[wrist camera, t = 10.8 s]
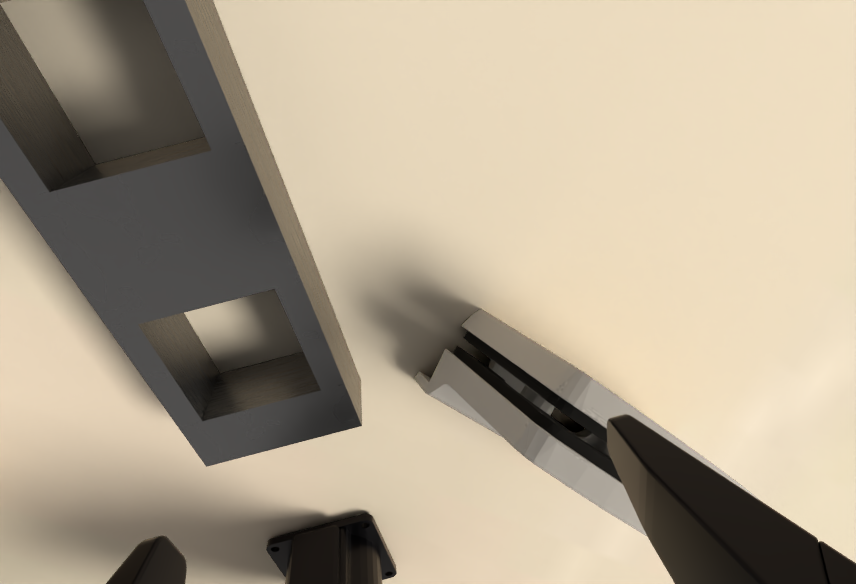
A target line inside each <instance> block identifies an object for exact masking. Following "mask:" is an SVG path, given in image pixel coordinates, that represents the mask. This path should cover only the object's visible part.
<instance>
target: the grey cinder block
mask: <svg viewBox="0 0 856 584" xmlns="http://www.w3.org/2000/svg"><path fill="white" fill-rule="evenodd" d="M5 1H9V0H0V3H1V2H5ZM143 1H144V3H145V6H146V8H147V10H148V12H149V14H150V17H151V19H152V21H153V23H154V25H155V28H156V30H157V32H158V34H159V36H160V39H161V41H162V43H163V45H164V47H165V49H166V52H167V54H168V56H169V58H170V60H171V63H172V65H173V67H174V69H175V71H176V74H177V76H178V78H179V80H180V82H181V85H182V87H183V89H184V91H185V93H186V96H187V98H188V100H189V102H190V104H191V106H192V109H193V111H194V113H195V115H196V117H197V120H198V122H199V124H200V126H201V128H202V131H203V133H204V135H205V137H202V138H198V139H194V140H191V141H187V142H183V143H179V144H175V145H171V146H167V147H163V148H159V149H155V150H152V151H148V152H144V153H140V154H136V155H132V156H128V157H124V158H120V159H117V160H113V161H109V162H105V163H101V164H97V165H95V163H94V161H93V160H92V158H91V156H90V155H89V153H88V151H87V150H86V148H85V146H84V145H83V143H82V141H81V140H80V138H79V136H78V135H77V133H76V131H75V129H74V128H73V126H72V124H71V123H70V121H69V119H68V118H67V116H66V114H65V113H64V111H63V109H62V108H61V106H60V104H59V103H58V101H57V99H56V98H55V96H54V94H53V92H52V91H51V89H50V87H49V86H48V84H47V82H46V81H45V79H44V77H43V76H42V74H41V72H40V71H39V69H38V67H37V66H36V64H35V62H34V61H33V59H32V57H31V55H30V54H29V52H28V50H27V49H26V47H25V45H24V44H23V42H22V40H21V39H20V37H19V35H18V34H17V32H16V30H15V29H14V27H13V25H12V24H11V22H10V20H9V18H8V17H7V15H6V13H5V12H4V10H3V8H2V7H1V5H0V178H1V179H2V180H3V182H4V183H5V185H6V186H7V187H8V189H9V190H10V192H11V193H12V194H13V196H14V197H15V199H16V200H17V201H18V203H19V204H20V206H21V207H22V208H23V210H24V211H25V213H26V214H27V216H28V217H29V218H30V220H31V221H32V223H33V224H34V225H35V227H36V228H37V230H38V231H39V232H40V234H41V235H42V237H43V238H44V239H45V241H46V242H47V244H48V245H49V246H50V248H51V249H52V251H53V252H54V253H55V255H56V256H57V258H58V259H59V260H60V262H61V263H62V265H63V266H64V267H65V269H66V270H67V272H68V273H69V274H70V276H71V277H72V279H73V280H74V281H75V283H76V284H77V286H78V287H79V288H80V290H81V291H82V293H83V294H84V295H85V297H86V298H87V300H88V301H89V303H90V304H91V305H92V307H93V308H94V310H95V311H96V312H97V314H98V315H99V317H100V318H101V319H102V321H103V322H104V324H105V325H106V326H107V328H108V329H109V331H110V332H111V333H112V335H113V336H114V338H115V339H116V340H117V342H118V343H119V345H120V346H121V347H122V349H123V350H124V352H125V353H126V354H127V356H128V357H129V359H130V360H131V361H132V363H133V364H134V366H135V367H136V368H137V370H138V371H139V373H140V374H141V375H142V377H143V378H144V380H145V381H146V382H147V384H148V385H149V387H150V388H151V390H152V391H153V392H154V394H155V395H156V397H157V398H158V399H159V401H160V402H161V404H162V405H163V406H164V408H165V409H166V411H167V412H168V413H169V415H170V416H171V418H172V419H173V420H174V422H175V423H176V425H177V426H178V427H179V429H180V430H181V432H182V433H183V434H184V436H185V437H186V439H187V440H188V441H189V443H190V444H191V446H192V447H193V448H194V450H195V451H196V453H197V454H198V455H199V457H200V458H201V460H202V461H203V462H204V464H205V465H206V467H207V466H210V465H214V464H218V463H222V462H226V461H229V460H233V459H237V458H241V457H245V456H249V455H252V454H256V453H260V452H264V451H268V450H271V449H275V448H279V447H283V446H287V445H290V444H294V443H298V442H302V441H306V440H310V439H313V438H317V437H321V436H325V435H329V434H332V433H336V432H340V431H344V430H348V429H352V428H355V427H359V426H362V408H361V380H360V377H359V375H358V372H357V369H356V367H355V364H354V362H353V359H352V357H351V354H350V351H349V349H348V346H347V344H346V341H345V339H344V336H343V333H342V331H341V328H340V326H339V323H338V321H337V318H336V316H335V313H334V310H333V308H332V305H331V303H330V300H329V298H328V295H327V292H326V290H325V287H324V285H323V282H322V280H321V277H320V274H319V272H318V269H317V267H316V264H315V262H314V259H313V256H312V254H311V251H310V249H309V246H308V244H307V241H306V239H305V236H304V233H303V231H302V228H301V226H300V223H299V221H298V218H297V215H296V213H295V210H294V208H293V205H292V203H291V200H290V197H289V195H288V192H287V190H286V187H285V185H284V182H283V179H282V177H281V174H280V172H279V169H278V167H277V164H276V162H275V159H274V156H273V154H272V151H271V149H270V146H269V144H268V141H267V138H266V136H265V133H264V131H263V128H262V126H261V123H260V120H259V118H258V115H257V113H256V110H255V108H254V105H253V103H252V100H251V97H250V95H249V92H248V90H247V87H246V85H245V82H244V79H243V77H242V74H241V72H240V69H239V67H238V64H237V61H236V59H235V56H234V54H233V51H232V49H231V46H230V43H229V41H228V38H227V36H226V33H225V31H224V28H223V26H222V23H221V20H220V18H219V15H218V13H217V10H216V8H215V5H214V2H213V0H143ZM272 289H275V291H276V293H277V295H278V297H279V299H280V302H281V304H282V306H283V308H284V310H285V313H286V315H287V317H288V319H289V321H290V324H291V326H292V328H293V330H294V332H295V335H296V337H297V339H298V341H299V343H300V345H301V348H302V350H303V352H302V353H298V354H294V355H290V356H286V357H282V358H279V359H275V360H271V361H267V362H263V363H259V364H256V365H252V366H248V367H244V368H240V369H236V370H233V371H229V372H225V373H221V374H220V373H219V372H218V370H217V368H216V367H215V365H214V363H213V361H212V360H211V358H210V356H209V355H208V353H207V351H206V350H205V348H204V346H203V345H202V343H201V341H200V340H199V338H198V336H197V335H196V333H195V331H194V330H193V328H192V326H191V324H190V323H189V321H188V319H187V318H186V316H185V314H184V312H188V311H192V310H195V309H199V308H203V307H207V306H211V305H215V304H219V303H222V302H226V301H230V300H234V299H238V298H242V297H246V296H249V295H253V294H257V293H261V292H265V291H269V290H272Z"/></svg>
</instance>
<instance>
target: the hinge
mask: <svg viewBox="0 0 856 584" xmlns="http://www.w3.org/2000/svg"><path fill="white" fill-rule="evenodd" d="M462 326H463V327H464V328H465V329H467V330H468V332H467V333H466V335H465V336H464V339H465V340H467V341H468V342H469V343H471V344H472V345H473V346H475V347H476V348H477V349H479V350H480V351H481V352H482V353H484V354H485V355H486V356H488V357H489V358H490V363H489V367H488V366H486V365H485V364H484V363H482V362H481V361H480V360H478V359H477V358H475V357H474V356H472V355H470V354H469V353H467V352H466V351H464V350H463V349H461V348H460V347H458V346H457V348H456V349H455V351H454V352H453V353H452V352H450V351H449V350H447V349H445V350H444V352H443V355H442V357H441V359H440V361H439V363H438V365H437V367H436V369H435V371H434V373H433V375H432V377H431V378H430V377H428V376H427V375H425V374H423V373H421V372H420V371H419V372H418V374H417V375H416V376H415V378H414V379H415V381H416V382H417V383H418V384H419V386H420V387H421V388H422V389H423V390H424V392H425V393H426V394H428V395H430V396H432V397H433V398H435V399H437V400H439V401H440V402H442V403H444V404H446V405H447V406H449V407H451V408H453V409H454V410H456V411H458V412H460V413H461V414H463V415H465V416H467V417H468V418H470V419H472V420H474V421H475V422H477V423H479V424H481V425H482V426H484V427H486V428H488V429H489V430H491V431H493V432H495V433H496V434H498V435H500V436H502V437H503V438H504V439H505V440H506V441H507V442H508V443H510V444H511V445H512V446H513V447H514V448H515V449H516V450H517V451H518V452H520V453H521V454H522V455H523V456H524V457H526V458H527V459H528V460H530V461H531V462H532V463H534V464H535V465H536V466H538V467H539V468H541V469H542V470H544V471H545V472H547V473H548V474H550V475H551V476H553V477H554V478H556V479H557V480H559V481H560V482H562V483H563V484H565V485H566V486H568V487H569V488H571V489H572V490H574V491H575V492H577V493H578V494H580V495H582V496H583V497H585V498H586V499H588V500H589V501H591V502H592V503H594V504H595V505H597V506H599V507H600V508H602V509H603V510H605V511H606V512H608V513H610V514H611V515H613V516H615V517H616V518H618V519H620V520H621V521H623V522H624V523H626V524H628V525H629V526H631V527H633V528H634V529H636V530H637V531H639V532H641V533H642V534H644V535H646V533H645V531H644V529H643V527H642V525H641V523H640V520H639V518H638V516H637V514H636V512H635V510H634V507H633V505H632V503H631V501H630V499H629V496H628V494H627V492H626V490H625V488H624V486H623V483H622V481H621V479H620V477H619V475H618V472H617V470H616V468H615V466H614V464H613V461H612V459H611V457H610V454H609V451H608V447H607V421H608V419H609V418H611V417H615V416H619V415H623V414H628V415H631V416H633V417H634V418H636V419H637V420H639V421H640V422H642V423H643V424H645V425H646V426H648V427H649V428H651V429H652V430H654V431H655V432H657V433H658V434H660V435H661V436H663V437H664V438H666V439H667V440H669V441H670V442H672V443H674V444H675V445H677V446H678V447H680V448H681V449H683V450H684V451H686V452H687V453H689V454H690V455H692V456H693V457H695V458H696V459H698V460H699V461H701V462H702V463H704V464H705V465H707V466H708V467H710V468H711V469H713V470H715V471H716V472H718V473H719V474H721V475H722V476H724V477H725V478H727V479H728V480H730V481H731V482H733V483H734V484H736V485H737V486H739V487H740V488H742V489H743V490H745V491H746V492H748V493H749V494H751V495H752V496H754V495H753V494H752V493H751V492H749V491H748V490H747V489H746V488H744V487H743V486H742V485H740V484H739V483H738V482H736V481H735V480H734V479H732V478H731V477H730V476H728V475H727V474H726V473H724V472H723V471H722V470H720V469H719V468H718V467H716V466H715V465H714V464H712V463H711V462H710V461H708V460H707V459H706V458H704V457H703V456H702V455H700V454H699V453H697V452H696V451H695V450H693V449H692V448H690V447H689V446H688V445H686V444H685V443H683V442H682V441H681V440H679V439H678V438H676V437H675V436H674V435H672V434H671V433H669V432H668V431H667V430H665V429H664V428H662V427H661V426H660V425H658V424H657V423H655V422H654V421H653V420H651V419H650V418H648V417H647V416H646V415H644V414H643V413H641V412H640V411H638V410H637V409H636V408H634V407H633V406H631V405H630V404H629V403H627V402H626V401H624V400H623V399H621V398H620V397H619V396H617V395H616V394H614V393H613V392H611V391H610V390H609V389H607V388H606V387H604V386H603V385H601V384H600V383H599V382H597V381H596V380H594V379H593V378H591V377H590V376H588V375H587V374H585V373H584V372H582V371H581V370H579V369H578V368H576V367H575V366H573V365H571V364H570V363H568V362H567V361H565V360H563V359H562V358H560V357H558V356H557V355H555V354H554V353H552V352H550V351H549V350H547V349H545V348H544V347H542V346H541V345H539V344H537V343H536V342H534V341H533V340H531V339H529V338H528V337H526V336H524V335H523V334H521V333H520V332H518V331H516V330H515V329H513V328H511V327H510V326H508V325H507V324H505V323H503V322H502V321H500V320H498V319H497V318H495V317H494V316H492V315H490V314H489V313H487V312H486V311H484V310H482V309H480V310H478V311H477V312H475V313H473V314H472V315H471V316H470V317H469V318H468V319H467V320H466V321H465V322H464V323H463V324H462ZM555 407H556V408H557V409H558V410H560V411H561V412H563V413H564V414H565V415H567V416H568V417H570V418H571V419H572V420H574V421H575V422H577V423H578V424H580V425H581V426H583V427H584V428H585V429H584V430H582V431H580V432H577V433H575V432H571V431H570V430H568V429H567V428H565V427H564V426H563V425H561V424H560V423H559V422H558V421H556V420H555V419H554V418H553V417H551V416H550V415H551V413H552V412H553V410H554V409H555ZM754 497H755V496H754ZM755 498H757V497H755ZM757 499H758V498H757ZM646 536H647V535H646ZM647 537H648V536H647Z"/></svg>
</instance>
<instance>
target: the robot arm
mask: <svg viewBox="0 0 856 584" xmlns="http://www.w3.org/2000/svg"><path fill="white" fill-rule="evenodd" d="M607 447H608V451H609V454H610V457H611V459H612V461H613V464H614V466H615V468H616V470H617V472H618V475H619V477H620V479H621V481H622V483H623V486H624V488H625V490H626V492H627V494H628V496H629V499H630V501H631V503H632V505H633V507H634V510H635V512H636V514H637V516H638V518H639V520H640V523H641V525H642V527H643V529H644V531H645V533H646V535H647V536H648V538H649V540H650V542H651V543H652V545H653V547H654V549H655V550H656V552H657V554H658V555H659V557H660V559H661V560H662V562H663V564H664V566H665V567H666V569H667V571H668V572H669V574H670V576H671V577H672V579H673V581H674V583H675V584H856V563H855V562H853V561H852V560H850V559H848V558H847V557H845V556H844V555H842V554H841V553H839V552H838V551H836V550H835V549H833V548H832V547H830V546H829V545H827V544H826V543H824V542H822V541H820V542H818V540H817V538H816V537H815V536H813V535H812V534H810V533H809V532H807V531H806V530H804V529H803V528H801V527H800V526H798V525H796V524H795V523H793V522H792V521H790V520H789V519H787V518H786V517H784V516H783V515H781V514H780V513H778V512H777V511H775V510H774V509H772V508H771V507H769V506H768V505H766V504H765V503H763V502H762V501H760V500H759V499H757V498H755V497H754V496H752V495H751V494H749V493H748V492H746V491H745V490H743V489H742V488H740V487H739V486H737V485H736V484H734V483H733V482H731V481H730V480H728V479H727V478H725V477H724V476H722V475H721V474H719V473H718V472H716V471H715V470H713V469H711V468H710V467H708V466H707V465H705V464H704V463H702V462H701V461H699V460H698V459H696V458H695V457H693V456H692V455H690V454H689V453H687V452H686V451H684V450H683V449H681V448H680V447H678V446H677V445H675V444H674V443H672V442H670V441H669V440H667V439H666V438H664V437H663V436H661V435H660V434H658V433H657V432H655V431H654V430H652V429H651V428H649V427H648V426H646V425H645V424H643V423H642V422H640V421H639V420H637V419H636V418H634V417H633V416H631V415H628V414H623V415H619V416H615V417H611V418H609V419H608V421H607ZM266 550H267V552H268V554H269V555H270V556H271V558H272V559H273V561H274V562H275V563H276V565H277V566H278V568H279V569H280V570H281V572H282V573H283V575H284V576H285V577H286V580H285V584H382V580H384V579H388V578H391V577H394V576H395V575H396V565H395V563H394V561H393V559H392V556H391V554H390V552H389V550H388V548H387V546H386V544H385V541H384V539H383V537H382V535H381V533H380V531H379V529H378V526H377V524H376V522H375V520H374V518H373V516H372V515H370V514H363V515H359V516H355V517H351V518H347V519H344V520H340V521H336V522H332V523H328V524H325V525H321V526H317V527H313V528H309V529H306V530H302V531H298V532H294V533H291V534H287V535H283V536H279V537H275V538H272V539H270V540H269V541H268V543H267V548H266ZM186 568H187V567H186V560H185V558H184V556H183V555H182V553H181V552H180V551H179V550H178V549H177V548H176V547H175V546H174V544H173V543H172V542H171V541H170V540H169V539H168V538H167V537H165V536H158V537H154V538H150V539H147V540H144V541H142V542H141V543H140V544H139V545H138V546H137V547H136V548H135V549H134V550H133V552H132V553H131V554H130V555H129V556H128V558H127V559H126V560H125V561H124V562H123V564H122V565H121V566H120V567H119V568H118V570H117V571H116V572H115V573H114V574H113V576H112V577H111V578H110V579H109V581H108V582H107V583H106V584H185V579H186Z"/></svg>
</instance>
